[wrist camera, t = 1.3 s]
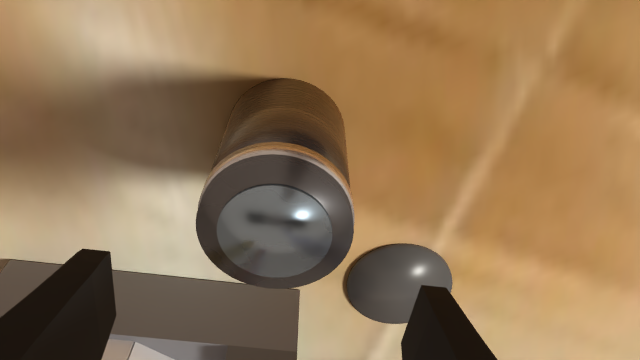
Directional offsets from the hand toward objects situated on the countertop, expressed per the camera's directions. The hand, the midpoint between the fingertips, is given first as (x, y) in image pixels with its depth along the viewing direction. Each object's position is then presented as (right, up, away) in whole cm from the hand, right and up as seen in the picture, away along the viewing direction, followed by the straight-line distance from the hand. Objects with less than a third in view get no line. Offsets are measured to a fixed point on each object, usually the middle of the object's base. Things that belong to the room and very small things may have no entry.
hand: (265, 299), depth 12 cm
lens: (0, +5, +7) cm, 9 cm away
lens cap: (+5, -2, +12) cm, 13 cm away
